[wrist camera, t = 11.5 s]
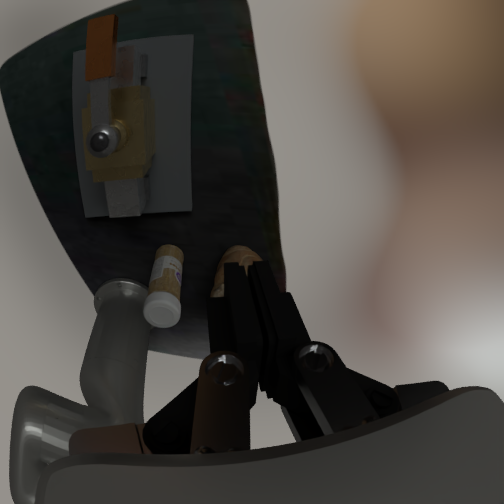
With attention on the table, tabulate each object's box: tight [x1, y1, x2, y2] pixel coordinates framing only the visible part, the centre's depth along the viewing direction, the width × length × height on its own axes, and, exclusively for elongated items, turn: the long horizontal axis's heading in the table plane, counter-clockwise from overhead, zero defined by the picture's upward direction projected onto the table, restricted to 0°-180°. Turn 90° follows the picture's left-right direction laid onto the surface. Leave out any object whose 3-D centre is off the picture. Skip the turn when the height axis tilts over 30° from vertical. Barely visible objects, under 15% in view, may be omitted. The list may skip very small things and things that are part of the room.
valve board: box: [72, 35, 194, 218], centre depth 31 cm, size 24×16×2 cm, turn 177°
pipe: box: [210, 245, 263, 297], centre depth 43 cm, size 9×16×10 cm, turn 5°
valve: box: [82, 45, 156, 218], centre depth 26 cm, size 20×7×9 cm, turn 177°
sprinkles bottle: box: [143, 245, 184, 328], centre depth 37 cm, size 5×5×13 cm
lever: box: [85, 14, 120, 158], centre depth 19 cm, size 14×3×2 cm, turn 178°
